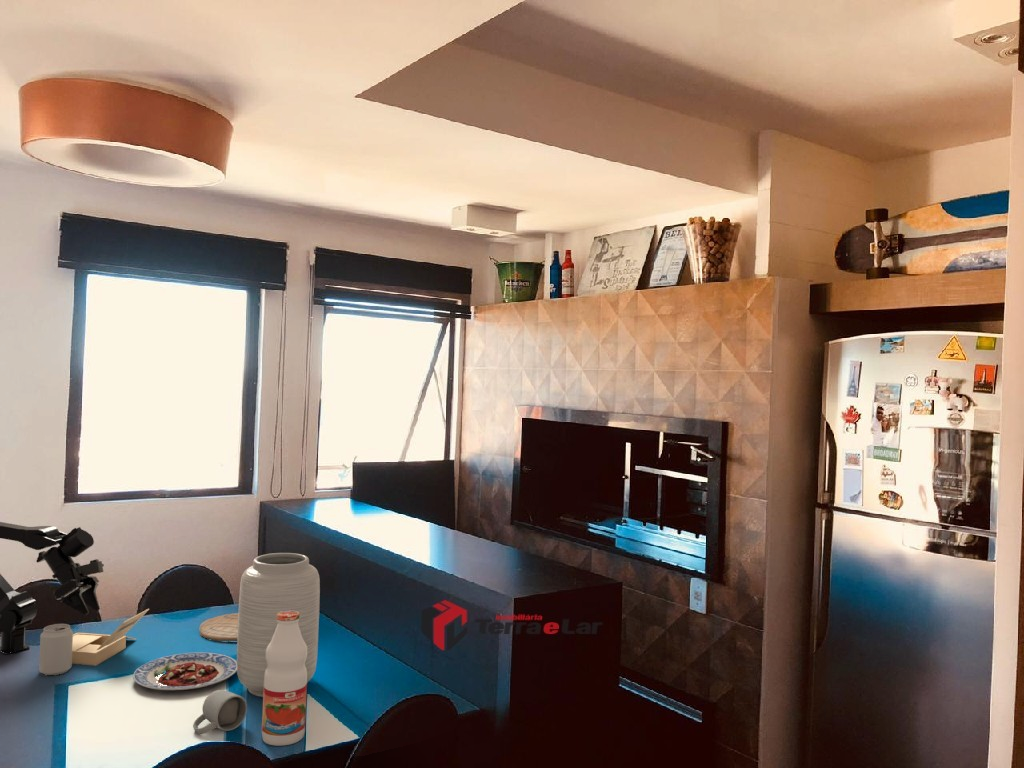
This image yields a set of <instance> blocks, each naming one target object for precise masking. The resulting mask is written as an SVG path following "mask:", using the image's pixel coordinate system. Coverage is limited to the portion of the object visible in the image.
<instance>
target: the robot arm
mask: <svg viewBox="0 0 1024 768" xmlns="http://www.w3.org/2000/svg"><path fill="white" fill-rule="evenodd" d="M0 539H3V540H8V541H13V542H17V543H18V542H19V543H21V544H23V546H24V547H27V548H29V549H32V550H35V551H39V552H38V557H37V558H36V563H41V562H44V561H45V563H46V564H47V565H48V567H49V569H50V571H51V572H52V573H53V574H52V576H51V577H52V578H53V579H54V580H55V579H56V580H57V581H58V583H59V584H60V585H59V586H58V587H56V588H54V589H53V593H52V596H53V598H54V599H55V600H56V601H57V600H59V601H58V602H60V603H63V604H65V605H66V606H68V607H71V608H72V609H73V610H75V611H77V612H78V613H80V614H82V615H84V616H86V615H88V614H89V608H91V610H93V611H95V612H98V611H100V609H101V607H100V605H99V600H98V597H97V593H96V591H97V588H98V587H99V583H100V581H99V578H98V577H96V576H94V575H95V574H101V573H104V568H103V567H104V566H105V565H104V563H103V561H102V560H99V559H98V558H97V559H96V558H95V559H92V560H90V561H89V563H86V564H83V565H81V564H80V563H79V562H75V561H74V560H73V558H77V557H78V556H80V555H81V554H82V553H84V552H85V551H87V550H88V549H90V548H91V547H92V546H94V543H95V540H94V537H93V536H92V534H91V533H89V532H88V531H86V530H84V529H82V528H81V526H78V527H74V528H73V529H71V531H70V532H68V533H66V532H63V531H60V530H58V527H56V526H54V525H38V526H25V525H21V524H13V523H8V522H3V521H0ZM57 545H58V546H57ZM47 548H49V549H47ZM44 549H47V550H46V551H45V550H44ZM41 550H44V551H41ZM93 574H94V575H93ZM36 602H37V600H36V599H34V598H33V597H32V596H31V594H30V593H29V592H28V591H23V592H18V591H16V590H15V589H14V588H13V587H12V586H11V584H10V583H9V582H8V580H7V579H5V577H4V576H3V575H2V574H1V573H0V633H1V636H0V651H2V652H4V653H9V654H11V653H10V652H13V653H16V652H15V651H17V652H20V651H19V650H22V651H25V650H24V649H26V650H30V647H31V646H29V645H27V644H26V643H25V642H26V626H28V625H31V624H32V622H33V620H34V618H35V617H36V616H37V613H38V608H39V607H38V605H37V603H36ZM87 606H88V607H89V608H88V607H87Z"/></svg>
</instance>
